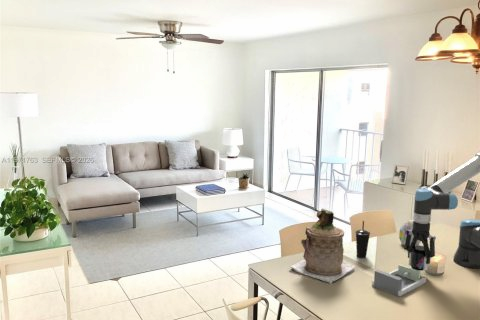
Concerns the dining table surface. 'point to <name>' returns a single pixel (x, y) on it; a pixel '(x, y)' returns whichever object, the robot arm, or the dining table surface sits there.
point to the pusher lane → (395, 282)
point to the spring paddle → (409, 272)
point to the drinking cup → (362, 242)
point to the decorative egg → (402, 234)
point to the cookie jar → (323, 250)
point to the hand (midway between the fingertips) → (418, 267)
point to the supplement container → (418, 257)
